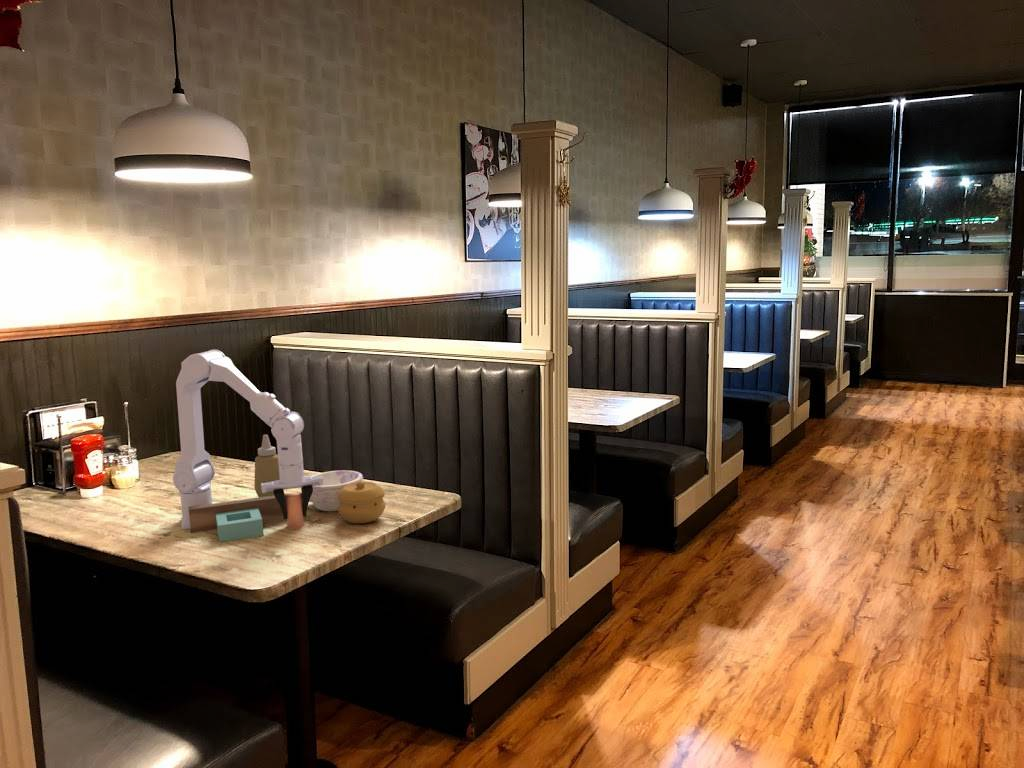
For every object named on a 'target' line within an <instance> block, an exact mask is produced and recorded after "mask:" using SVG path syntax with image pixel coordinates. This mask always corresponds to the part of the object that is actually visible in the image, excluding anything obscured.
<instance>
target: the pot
mask: <svg viewBox="0 0 1024 768" xmlns="http://www.w3.org/2000/svg"><path fill="white" fill-rule="evenodd" d="M337 496H338V498H337V499H338V500H339V501H340V504H339V506H338V511H337V512H338V513H339V515H340V516H341V518H342V519H343V520H345V521H346V522H348V523H353V524H367V523H371V522H374V521H376V520H377V519H380V517H381V516H382V515H383V513H384V512H385V509H386V505H387V503H386V502H385V500H384V497H385V496H386V494H385V490H384V488H383V487H382V486H381V485H379V484H377V483H374V482H371V481H368V482H367V481H365V482H364V481H363V482H362V481H359V482H357V483H353V484H349V485H347V486H345V487H343V488H342V489H341V490H340V492H339V493H338V495H337Z"/></svg>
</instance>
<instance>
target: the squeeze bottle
mask: <svg viewBox="0 0 1024 768" xmlns="http://www.w3.org/2000/svg"><path fill="white" fill-rule="evenodd" d="M270 441H271V440H270V437H269V435H268V434H263V435H262V441H261V447H259V448H257V456H256V457H255V458H254V482H253V486H254V490H255V492H256V495H257V498H259V497H266V496H274V493H273V491H269V492H266V493H262V488H261V483H267V482H272V481H277V480H280V474H279V461H278V453H276V452H277V451H276V447H275V446H272V445H271V442H270Z"/></svg>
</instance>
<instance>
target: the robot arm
mask: <svg viewBox="0 0 1024 768" xmlns="http://www.w3.org/2000/svg"><path fill="white" fill-rule="evenodd" d="M180 365H181V369H180V371H179V374H178V376H177V379H176V382H175V387H176V398H177V399H176V400H177V403H176V404H177V414H178V427H179V439H180V440H179V441H180V442H179V443H180V454H179V455H178V457H177V459H176V460H175V463H174V473H173V474H172V483H173V485H174V487H175V488H176V490H177V491H178V493H179V496H180V504H181V505H180V507H181V514H182V516H181V518H180V519H181V520H180V521H181V522H180V523H181V530H191V529H190V519H189V508H188V507H192V506H200V505H207V504H213V498H212V489H211V486H212V480H213V479H214V477H215V473H216V471H215V466H214V465H213V463H212V458H211V454H210V453H209V452H208V451H206V450H205V440H204V439H205V436H204V424H203V421H204V420H203V411H202V410H203V409H202V407H203V405H202V397H201V396H202V395H201V394H202V393H201V388H202V387H203V386H204V385H206V383H208V382H209V381H210V382H224V383H225V384H226V385H228V386H229V387H230V388H231V389H232V390H234V391H235V392H236V393H238V394H239V395H240V396H241V397H243V398H244V399H245V400H247V401H248V402H249V405H250V410H251V411H252V412H253V413H254V414H255V415H256V416H257V417H259V418H260V420H262V421H263V422H264V423H265V424H266V425H267V426H269V427H270V428H271V429H270V430H271V431H270V432H271V434H272V436H273V438H275V440H276V448H277V455H278V461H279V474H280V480H277V481H272V482H267V483H261V488H262V493H266V492H269V491H273V493H274V496H275V498H276V499H277V501H278V503H279V505H280V507H281V509H282V512H283V517H284V520H287V513H286V507H285V494H286V493H285V490H292V489H300V490H301V492H300V493H302V504H303V518H304V517H305V518H306V517H307V512H308V507H309V503H310V502H309V500H310V497H311V495H312V493H313V487H312V486H318V485H319V486H323V477H322V476H319V477H311V476H305V475H304V474H305V473H304V457H303V447H302V446H303V444H302V435H301V433H302V432H303V431H304V429H305V428H304V427H305V421H304V419H303V417H302V416H301V415H300V413H299V412H296V411H291V410H290V409H289V408H288V407H285V406H284V405H283V404H282V403H280V402H279V401H278V400H277V399H276V397H277V396H276V395H275V394H274V393H269V392H267V391H264V392H262V391H260V390H259V389H257V387H256V386H255V385H254V384H253V383H252V382H251V381H250V380H249V379H248V378H247V377H246V376H245V375H244V374H243V373H242V372H241V371H240V370H239V369H238V368H237V367H236V366H235V364H234V363H233V361H232V359H231V358H230V357H228V356H226V355H225V354H224V352H222V351H220V350H219V349H215V348H214V349H209V350H208V351H203V352H200V353H193V354H190V355H188V356H187V357H186V358H184V360H183V361H181V363H180ZM284 520H283V521H284Z"/></svg>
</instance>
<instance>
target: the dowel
mask: <svg viewBox="0 0 1024 768" xmlns="http://www.w3.org/2000/svg"><path fill="white" fill-rule="evenodd" d="M285 494H286V495H285V503H286V513H287V519H286V527H287V528H288V529H300V528H302V527H304V526H305V521H304V520H305V519H304V517H303V504H302V492H289V493H285Z"/></svg>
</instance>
